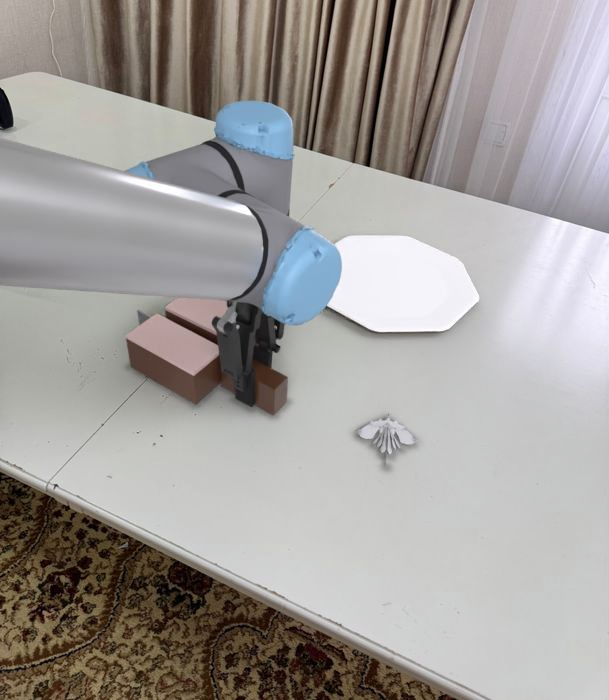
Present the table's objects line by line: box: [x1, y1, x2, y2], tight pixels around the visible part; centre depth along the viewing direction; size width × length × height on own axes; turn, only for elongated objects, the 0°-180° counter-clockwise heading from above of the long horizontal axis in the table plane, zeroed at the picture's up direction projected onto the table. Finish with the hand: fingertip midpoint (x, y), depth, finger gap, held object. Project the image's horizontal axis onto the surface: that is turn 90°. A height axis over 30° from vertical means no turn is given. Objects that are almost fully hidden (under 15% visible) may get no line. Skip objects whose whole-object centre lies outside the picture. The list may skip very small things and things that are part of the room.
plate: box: [325, 234, 480, 334], centre depth 106 cm, size 28×28×2 cm
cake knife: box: [136, 309, 289, 416], centre depth 87 cm, size 26×3×5 cm, turn 56°
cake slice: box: [125, 313, 221, 406], centre depth 85 cm, size 6×12×6 cm, turn 57°
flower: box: [356, 412, 418, 466], centre depth 80 cm, size 8×8×3 cm
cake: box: [164, 297, 259, 347], centre depth 92 cm, size 10×12×6 cm
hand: (253, 392), depth 85 cm, fingers closed on cake knife, 3 cm apart
